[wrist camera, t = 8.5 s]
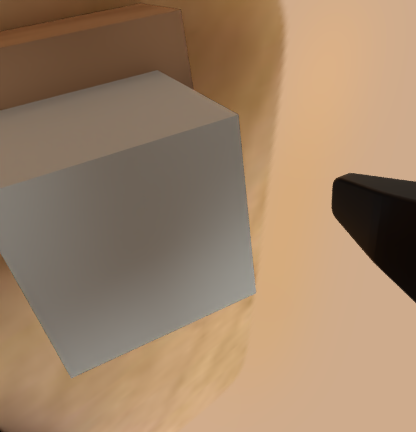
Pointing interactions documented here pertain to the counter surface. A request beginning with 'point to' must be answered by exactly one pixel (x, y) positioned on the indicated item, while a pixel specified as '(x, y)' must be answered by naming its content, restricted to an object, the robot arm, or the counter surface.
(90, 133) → the cube
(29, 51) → the base block
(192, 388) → the counter surface
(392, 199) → the robot arm
